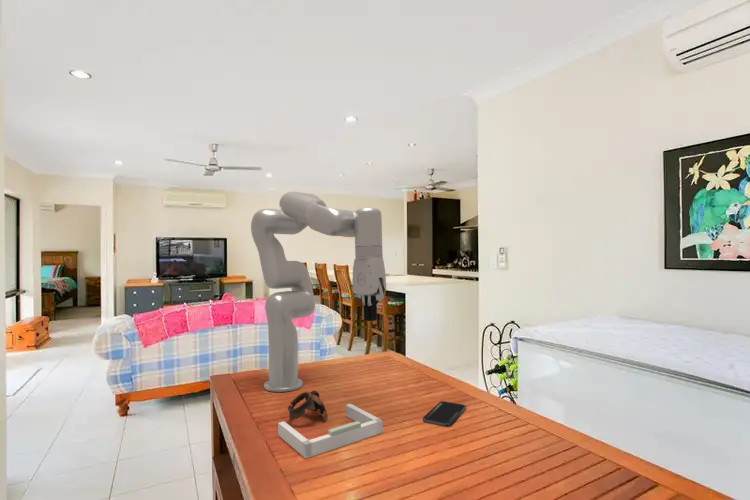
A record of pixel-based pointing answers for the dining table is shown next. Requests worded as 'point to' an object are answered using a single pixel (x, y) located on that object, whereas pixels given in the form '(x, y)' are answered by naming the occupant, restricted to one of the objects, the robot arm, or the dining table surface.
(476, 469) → the dining table surface
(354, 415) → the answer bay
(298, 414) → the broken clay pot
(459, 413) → the phone
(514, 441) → the dining table surface
